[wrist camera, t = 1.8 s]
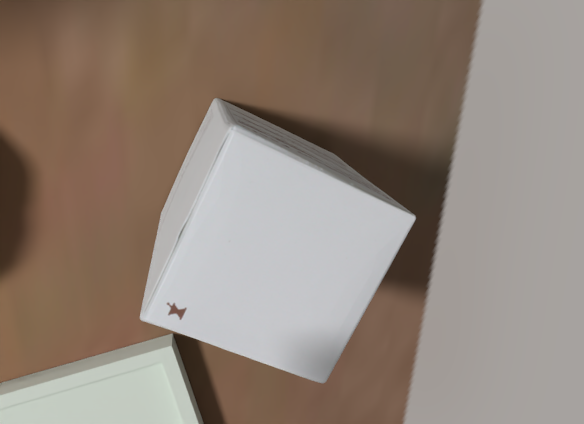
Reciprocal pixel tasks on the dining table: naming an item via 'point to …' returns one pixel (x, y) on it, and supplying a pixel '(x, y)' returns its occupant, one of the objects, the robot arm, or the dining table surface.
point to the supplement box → (269, 245)
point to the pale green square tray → (106, 390)
